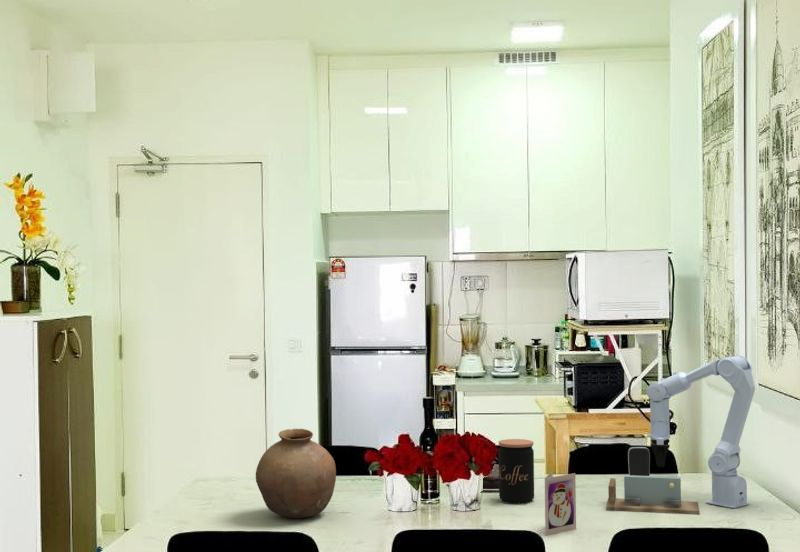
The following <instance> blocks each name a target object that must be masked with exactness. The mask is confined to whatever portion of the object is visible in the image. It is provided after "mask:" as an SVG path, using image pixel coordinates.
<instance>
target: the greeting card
mask: <svg viewBox="0 0 800 552" xmlns="http://www.w3.org/2000/svg"><path fill="white" fill-rule="evenodd" d="M553 472H554V471H553V470H552V471H550V472H549V473H548V474H547V475H546V477H544V520H545V521H544V523H545V524H544V525H545V526H544V527H545V528H544V529H545V532H544V533H545V534H544V536H549V535H554V534H560V533H563V532H568V531H572V530H576V529H577V501H576V498H577V495H576V491H577V489H576V472H574V473H573V472H572V473H569V474H563V475H556V476H554V474H553Z"/></svg>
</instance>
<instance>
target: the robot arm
mask: <svg viewBox="0 0 800 552" xmlns="http://www.w3.org/2000/svg"><path fill="white" fill-rule="evenodd" d="M752 370H753V366H752V365H751V363H750V362H749V360H748V359H747V358H746V357H744V356H743V355H740V354H737V355H734V356H730V357H729V356H724V357H722V358H720V359H716V360H713V361H710V362H708V363H705V364H703V365H701V366H699V367H698V368H696V369H694V370H691V371H689V372H688V373H686V372H684V371H680V372H679V371H674V372H673V373H672V375H671V376H668V377H666V378H664V377H663V378H660V379H659V380H660V381H657V382H652V383H651V384H649V385H648V387H647V389H646V395H647V398H648V399H649V405H650V407H649V408H650V409H649V415H650V416H649V417H650V433H649V434H646V437H647V438H651V439H650V441H651V443H650V447H651V449H652V451H653V454H654V460H655V465H656V467H657V468H665V464H666V457H667V454H668V451H669V449H670V439H671V434H670V399H671V398H672V397H674V396H677V395H678V394H681V393H683V392H685V391H688V390H689V389H690V388H691V387H692V384H693V383H695V382H697V381H699V380H702V379H705V378H708V377H710V376H713V375H714V376H720V377H721V378H722V379H724V380H725V382H727V383H728V384H729V385H730V386H731V388H732V390H733V391H734V394H733V396H732V400H731V402H730V407H729V410H728V414H727V417H726V420H725V424H724V428H723V431H722V433H721V434H722V435H721V437H720V441H719V442H718V443H717V445H716V446H715V448H714V451H713V453H712V454H711V455H710V456H709V458H708V461H707V465H708V468H709V470H710V471H711V500H707V501H705V503H706V504H709V505H710V504H711V505H714V506H720V507H726V508H731V509H735V508H739V507H740V508H741V507H743V506H744V507H745V506H748V505H749V502H748V492H747V491H748V488H747V485H748V484H747V480H746V479H745V477H743V476H740V475H739V474H738V470H737V469H738V468H739V467H740V464H741V457H740V454H741V447H740V441H741V437H742V435H743V431H744V428H745V425H746V422H747V418H748V415H749V412H750V408H751V406H752V401H753V397H754V394H755V390H756V387H755V381H754V376H753V372H752Z"/></svg>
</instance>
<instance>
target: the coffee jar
mask: <svg viewBox="0 0 800 552" xmlns="http://www.w3.org/2000/svg"><path fill="white" fill-rule="evenodd" d="M498 446H499V449H498V464H499V492H498V497H499V499H500V500H501V502H502V503H505V504H511V505H524V504H530V503H531V502H533V500H534V499H535V454H534V448H533V446H534V441H533V440H530V439H523V438H521V439H520V438H507V439H502V440H498Z"/></svg>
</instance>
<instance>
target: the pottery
mask: <svg viewBox="0 0 800 552" xmlns="http://www.w3.org/2000/svg"><path fill="white" fill-rule="evenodd" d="M313 436H314V433H313V432H312V431H311V430H308V429H306V428H292V429H291V428H287V429H284V430H281V431H279V433H278V437H279V438H280V439H281V440H279V441H277V442H275V443H274V444H272V445H270V447H268V448H267V449H266V450H265V451H264V453H263V455H262V456H261V457H260V460H259V462H258V464H257V466H256V471H255V482H256V485H257V487H258V490H259V491H260V494H261V497H262V498H263V502H264V504H265V506H266V507H267V509H268V510H269V511H270V512H272V513H274V514H275V515H278V516H280V517H283V518H290V519H305V518H309V517H313V516H316V515H319V514H320V513H322V512H324V510H325V509H326V508H327V507H328V505H329V503H330V502H331V499H332V497H333V495H334V491H335V486H336V479H337V468H336V463H335V462H336V461H335V460H334V457H333V456H332V455H331V454H330V452H329V451H328V450H327V449H326V448H324V447H323V446H322V445H320V444H319V443H318V442H316V441H313V440H311V439H312V438H313Z"/></svg>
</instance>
